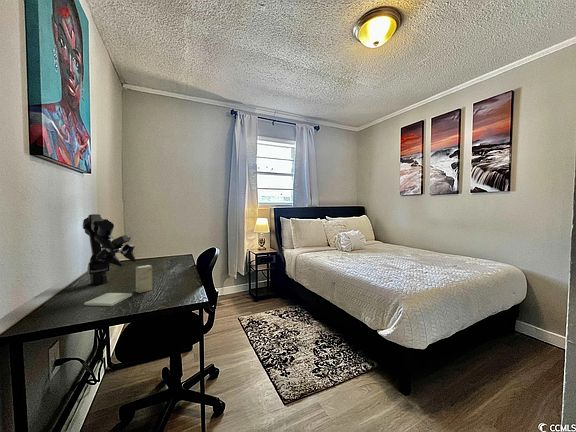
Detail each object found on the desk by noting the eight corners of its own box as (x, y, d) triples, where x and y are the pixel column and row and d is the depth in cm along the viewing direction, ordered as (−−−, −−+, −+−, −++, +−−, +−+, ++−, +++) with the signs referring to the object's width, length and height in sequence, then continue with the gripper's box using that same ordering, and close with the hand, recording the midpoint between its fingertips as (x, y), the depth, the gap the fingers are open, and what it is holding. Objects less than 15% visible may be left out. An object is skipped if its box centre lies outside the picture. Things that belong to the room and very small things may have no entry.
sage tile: (84, 305, 100) (84, 302, 100) (107, 294, 112) (107, 292, 112) (111, 305, 99) (111, 303, 99) (132, 295, 111) (132, 293, 111)
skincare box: (139, 293, 114) (138, 268, 114) (135, 291, 117) (134, 266, 116) (152, 289, 119) (152, 265, 119) (148, 288, 122) (148, 264, 121)
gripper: (102, 231, 108) (125, 256, 108) (131, 228, 127) (151, 249, 127) (86, 248, 109) (109, 272, 109) (117, 242, 128) (137, 263, 127)
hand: (128, 263), depth 118 cm, fingers open, 9 cm apart
